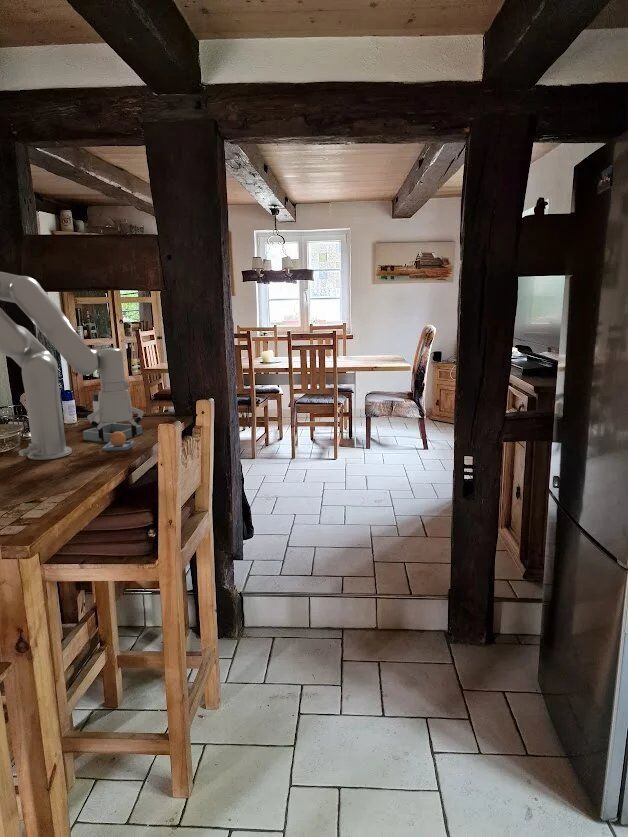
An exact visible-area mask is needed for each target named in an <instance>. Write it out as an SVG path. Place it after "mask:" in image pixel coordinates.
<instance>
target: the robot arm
mask: <svg viewBox="0 0 628 837" xmlns="http://www.w3.org/2000/svg"><path fill="white" fill-rule="evenodd" d="M0 301H4V302H9V303H14V304H16V305H17V307H18V308H20V310H21V311H23V313H24V314H25V315H26V316H27V317H28V318H29V319H30V321H31V322H32V323H33V325H34V326H35V327H36V328H37V329H38V330H39V332H40V333H41V334H42V336H43V337H44V338H46V339H47V340H48V341H49V343H51V345H52V346H53V347H54V349H55V350H56V351H57V352H58V353H59V355H60V356H62V358H63V360H65V361H66V362H67V364H68V365H69V366H70V367H71V368H72V370H73V371H75V373H77V374H79V375H82V376H89V375H91V374H94V372H96V371H98V372H99V374H98V375H99V382H100V391H98V392H99V395H98V408H99V409H98V410H97V411H95V412H94V411H93V412H92V413H91V414H88V415H87V419H88V422H90V424H91V425H92V426H93V428H97V429H98V434H99V439H100V438H101V441H104V437H103V428H102V426H103V425H104V424H105V423H113V422H117V423H121V422H129V423H130V425H131V431H132V438H133V439H136V436H135V435H137V432H136V425H139V423H140V422H141V420H142V418H143V417H144V413H145V412H144V411H143V410H142V409H139V408H136V407H134V406H132V399H131V395H130V393H129V392H130V391H129V389H128V388H129V387H131V382H130V381H129V382H128V381H126V376H125V375H126V374H125V365H124V355H123V354H124V353H123V350H122V349H121V348H118V347H106V348H101V349H100V348H99V349H98V348H97V349H96V348H89V347H88V345H87V344H86V343H85V342H84V341H83V339H82V338H81V337H80V335H79V334H78V333H77V332H76V330H75V329H74V328H73V326H72V324H71V323H70V320H69V319H68V317H67V316H66V315H65V313H64V312H63V311H62V310H61V309H60V308H59V307H58V306H57V304H56V303H55V302H54V300H53V299H52V298H51V297H50V296H49V295H48V293H47V292H46V291H45V289H43V288H42V286H41V284H40V283H39V282H38V281H37V279H34V278H32V277H30V276H27V275H18V274H13V273H9V272H4V271H0ZM0 353H1V354H2V355H4V356H6V357H9V358H11V359H12V360H13V361H14V362H15V363H16V364H17V365H18V366H19V367H20V368H21V377H22V378H21V379H22V383H23V388H24V393H25V394H24V395H25V402H26V409H27V416H28V424H29V425H28V426H29V431H30V440H31V442H30V443H28V447H26V448H23V449H19V451H18V455H19V456H20V457H24V456H27V458H28V459H30V460H36V461H37V460H38V461H45V460H54V459H60V458H63V457H66V456H69V455H70V454H72V453H73V451H72V450H73V449H72V448H71V447H70V446H67V445H66V444H67V443H66V435H65V428H64V427H65V426H64V418H63V411H62V401H61V400H62V399H61V393H60V385H59V374H58V373H59V372H58V371H59V370H58V369H59V366H58V361H57V359H56V358H55V356H53V354H51V352H50V351H49V350H48V349H47V348H46V347H45V346H44V345H43V344H42V343H41V342H40V341H39V340H38V339H37V338H36V337H35V335H33V334H32V332H31V331H29V329H27V328H26V327H24V326H22V325H20V324H17V323H16V322H15V321H14V320H13V319H12V318H11V317H10V316H9V315H8V314H7V313H6V311H4V310H3V309H2V308H1V307H0ZM133 413H134V414H135V413H136V414H138V415H137V417H136V418H135V419H134V418H133V416H134V415H133ZM97 415H99V418H100V422H99V423H97V422H95V419H94V417H95V416H97ZM101 441H100V442H101Z"/></svg>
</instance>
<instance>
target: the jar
mask: <svg viewBox="0 0 628 837" xmlns="http://www.w3.org/2000/svg"><path fill="white" fill-rule="evenodd" d="M99 392H100V391H97V392H93V393H92V394H91V396H92V407H93V412H95V411H97V410H98V409H99V408H98V395H99ZM93 419H94V421H95V422H97V423H99V422H100V418H99V415H97V416H95V417H94V418H93ZM113 423H118V422H113ZM106 424H109V423H105V424H104V425H106Z"/></svg>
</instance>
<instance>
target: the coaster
mask: <svg viewBox="0 0 628 837" xmlns="http://www.w3.org/2000/svg"><path fill="white" fill-rule="evenodd" d="M135 442H136V441H135V440H126V442H125V444H124V445H122V446H120V447H116V446H114V445H112V444H111V442H107V443H106V444H105V445H104V446H103V447H102V452H107V451H108V452H113V451H115V452H117V451H129V450H130V449H131V448H132V447H133V446H134V445H135V444H136V443H135Z"/></svg>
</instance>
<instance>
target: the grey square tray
mask: <svg viewBox="0 0 628 837" xmlns="http://www.w3.org/2000/svg"><path fill="white" fill-rule="evenodd" d="M131 425H132V424H131V423H130V424H129V423H120V422H117V423H109V424H106V425H103V426H102V428H103V437H104V441H101V438H100V439H99V434H98V429H97V428H96V427H93V428H89V429H85V430H83V431H82V436H83V440H85V441H92V442H102V443H103V442H104V443H109V442H110V436H111V435H112V434H113V433H114V432H117V431H119V432H122V433H124V434H125V436H126V440H128V439H129V440H130V439H131V438H133V437H132V431H131ZM136 432H137V435H135V437H137V436H140V435H143V433H144V430H143V425H141V424H137V425H136Z"/></svg>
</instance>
